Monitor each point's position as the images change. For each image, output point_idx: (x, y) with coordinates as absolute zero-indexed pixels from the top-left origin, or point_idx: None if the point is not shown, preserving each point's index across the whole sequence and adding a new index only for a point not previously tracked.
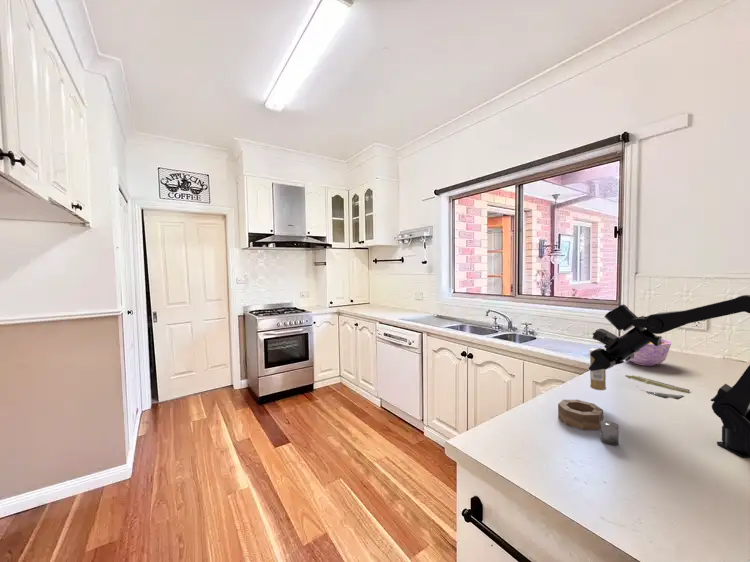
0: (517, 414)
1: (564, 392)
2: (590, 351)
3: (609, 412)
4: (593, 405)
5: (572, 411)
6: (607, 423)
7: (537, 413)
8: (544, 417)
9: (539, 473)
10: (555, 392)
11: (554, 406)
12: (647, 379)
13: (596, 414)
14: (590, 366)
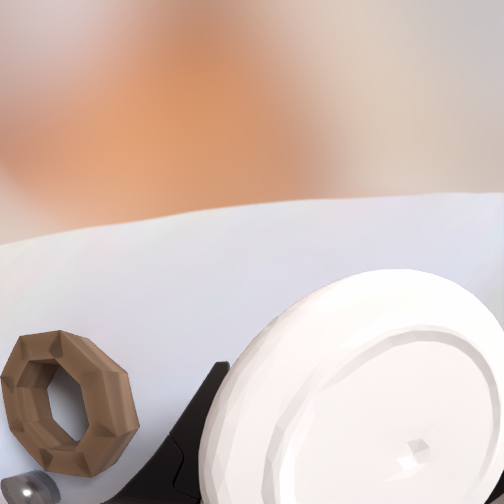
0: (8, 259)
1: (291, 230)
2: (237, 362)
3: None
4: (97, 440)
5: (5, 396)
6: (14, 493)
7: (37, 287)
8: (28, 315)
9: None
10: (258, 213)
11: (118, 289)
12: None
13: (41, 463)
14: (204, 384)
